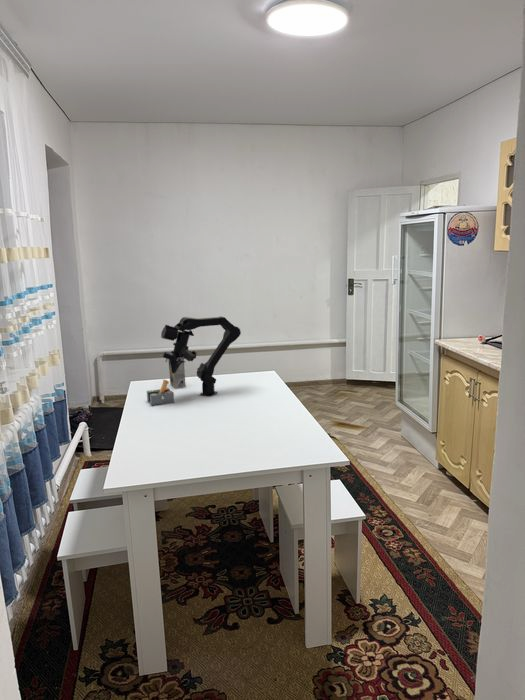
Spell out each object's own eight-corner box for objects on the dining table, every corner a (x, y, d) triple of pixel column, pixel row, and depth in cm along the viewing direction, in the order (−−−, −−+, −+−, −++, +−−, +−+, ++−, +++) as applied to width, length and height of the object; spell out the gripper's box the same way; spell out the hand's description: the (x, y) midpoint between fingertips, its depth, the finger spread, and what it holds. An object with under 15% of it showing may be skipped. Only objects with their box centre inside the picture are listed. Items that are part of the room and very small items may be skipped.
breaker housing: (169, 397, 264) (168, 387, 263) (174, 402, 256) (173, 392, 255) (147, 400, 260) (146, 390, 259) (152, 406, 251) (151, 395, 250)
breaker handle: (161, 395, 259) (167, 380, 259) (163, 397, 257) (168, 381, 256) (157, 394, 258) (163, 379, 258) (158, 395, 256) (164, 380, 255)
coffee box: (169, 384, 287) (167, 356, 284) (181, 383, 290) (179, 354, 286) (174, 388, 279) (172, 359, 275) (186, 387, 282) (184, 357, 278)
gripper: (186, 346, 245) (177, 378, 246) (204, 347, 263) (196, 377, 264) (166, 340, 249) (158, 371, 250) (185, 341, 267) (177, 371, 268)
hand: (173, 373), depth 258 cm, fingers closed
